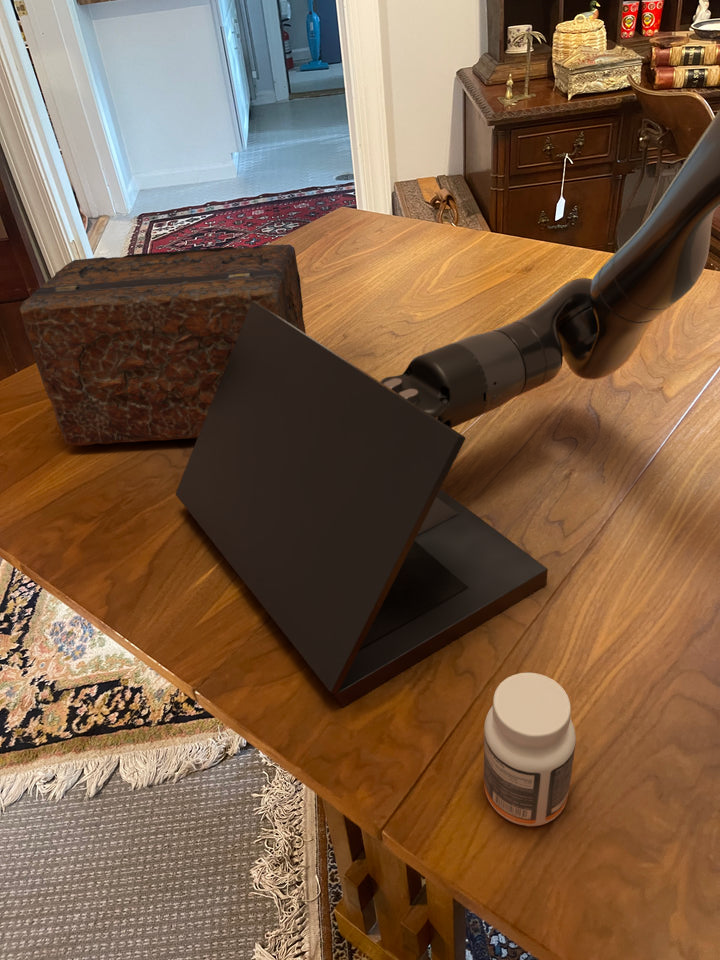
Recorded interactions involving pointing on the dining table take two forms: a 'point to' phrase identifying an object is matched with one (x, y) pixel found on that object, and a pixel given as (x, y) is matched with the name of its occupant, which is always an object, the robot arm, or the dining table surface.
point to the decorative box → (150, 336)
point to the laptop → (440, 594)
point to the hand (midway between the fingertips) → (311, 443)
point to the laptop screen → (313, 485)
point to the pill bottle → (528, 749)
